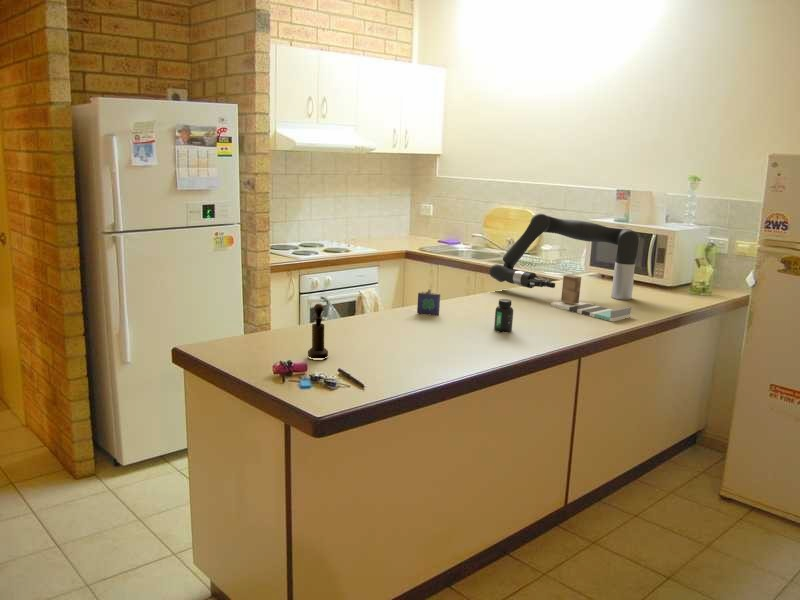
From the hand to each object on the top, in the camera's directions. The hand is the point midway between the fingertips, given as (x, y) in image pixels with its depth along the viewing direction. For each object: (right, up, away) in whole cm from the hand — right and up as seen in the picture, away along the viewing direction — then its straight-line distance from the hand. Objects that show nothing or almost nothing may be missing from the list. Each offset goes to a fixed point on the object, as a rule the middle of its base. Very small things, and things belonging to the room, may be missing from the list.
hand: (554, 285), depth 317 cm
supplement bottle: (-31, -19, -50) cm, 62 cm away
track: (+12, -12, -12) cm, 21 cm away
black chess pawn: (-98, -26, -93) cm, 138 cm away
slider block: (+6, -8, -6) cm, 11 cm away
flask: (-59, -13, -30) cm, 68 cm away
